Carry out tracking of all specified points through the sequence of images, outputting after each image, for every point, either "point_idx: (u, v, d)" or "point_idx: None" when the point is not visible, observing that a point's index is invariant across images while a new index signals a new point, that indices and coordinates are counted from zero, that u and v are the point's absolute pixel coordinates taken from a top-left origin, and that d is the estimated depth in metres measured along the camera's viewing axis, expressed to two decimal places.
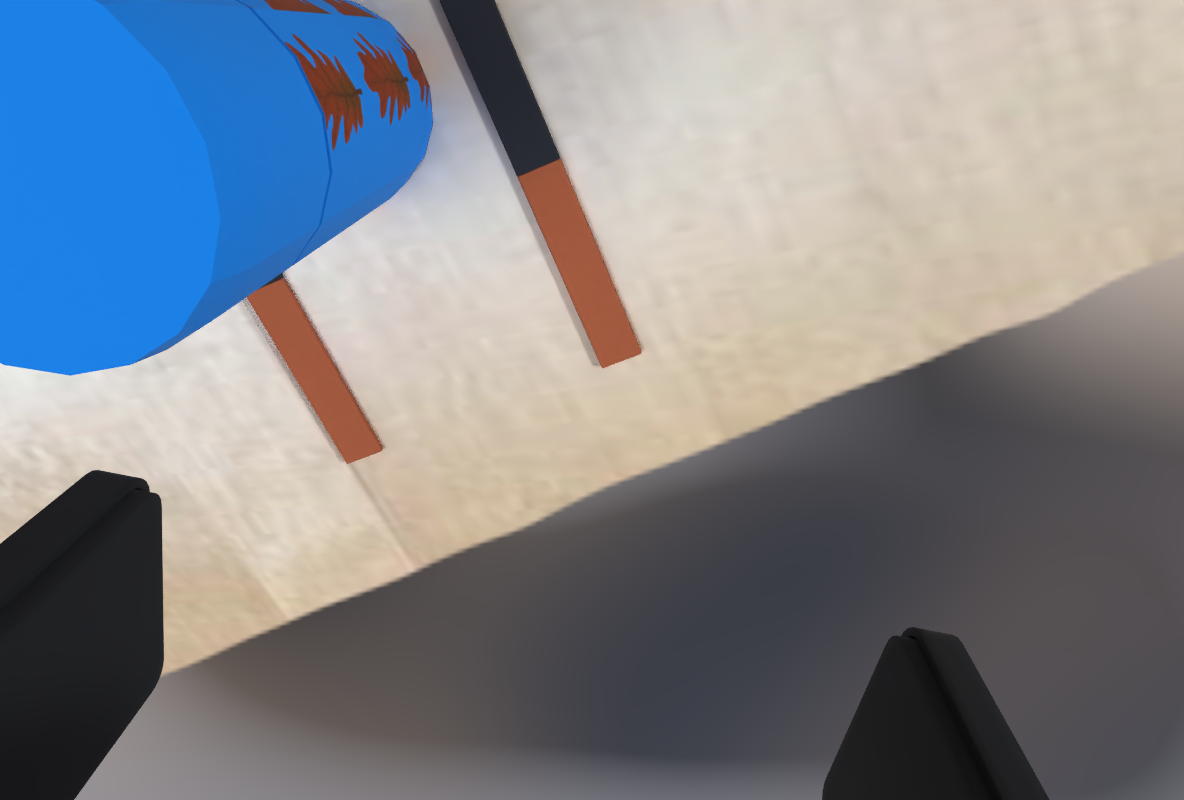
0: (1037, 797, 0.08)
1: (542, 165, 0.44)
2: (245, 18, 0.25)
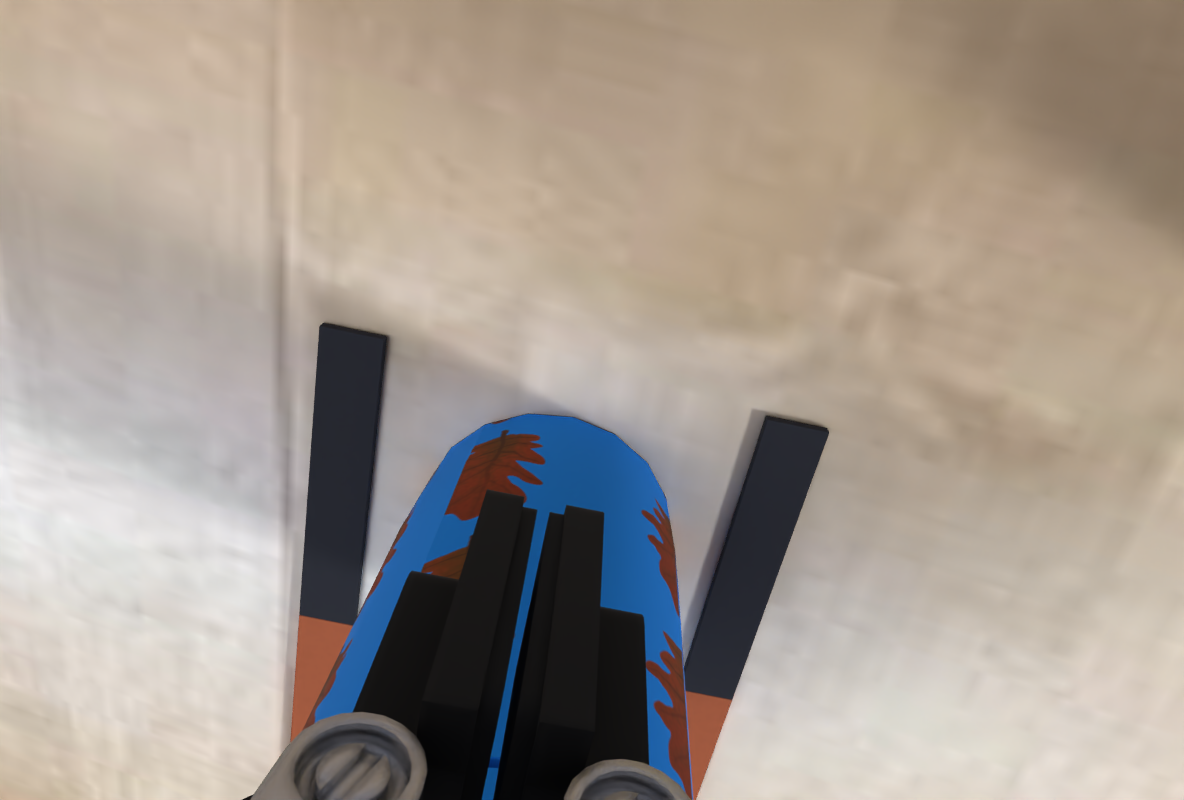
0: (589, 625, 0.09)
1: (711, 695, 0.37)
2: None
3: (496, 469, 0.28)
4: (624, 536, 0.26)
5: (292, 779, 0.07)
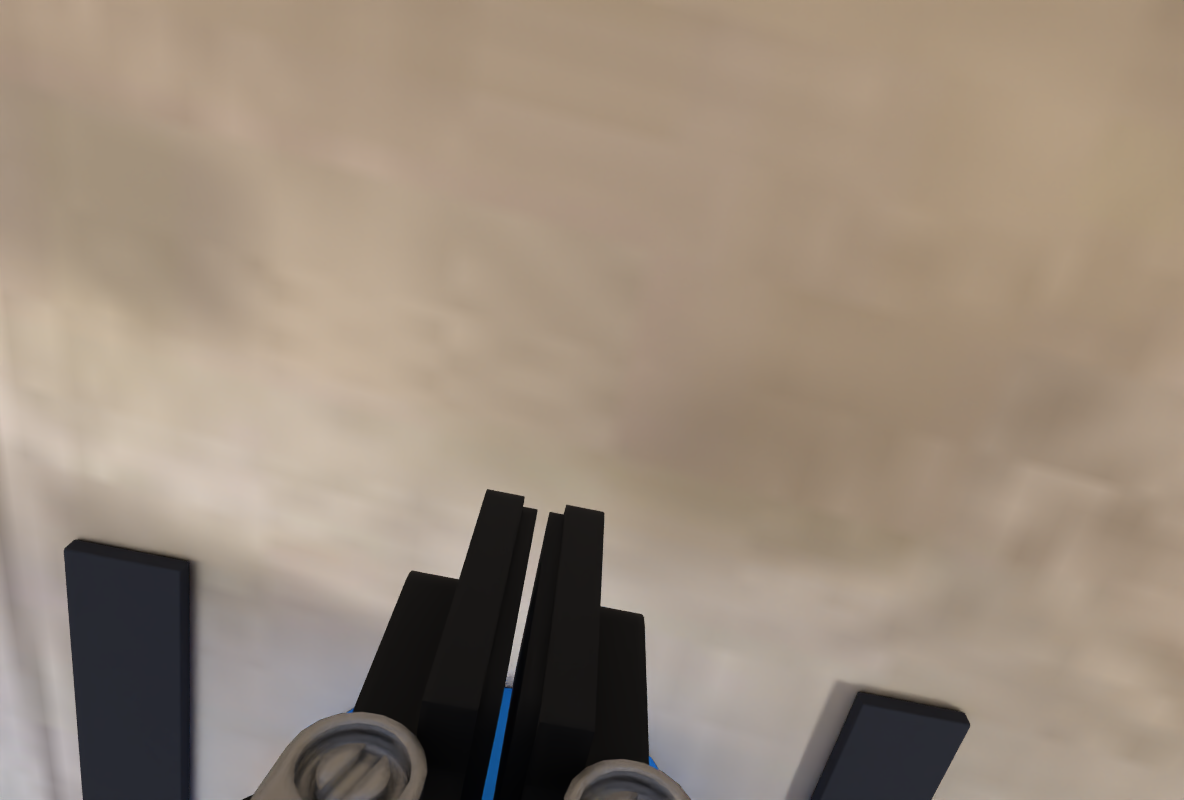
0: (589, 625, 0.09)
1: None
2: None
3: None
4: None
5: (292, 779, 0.07)
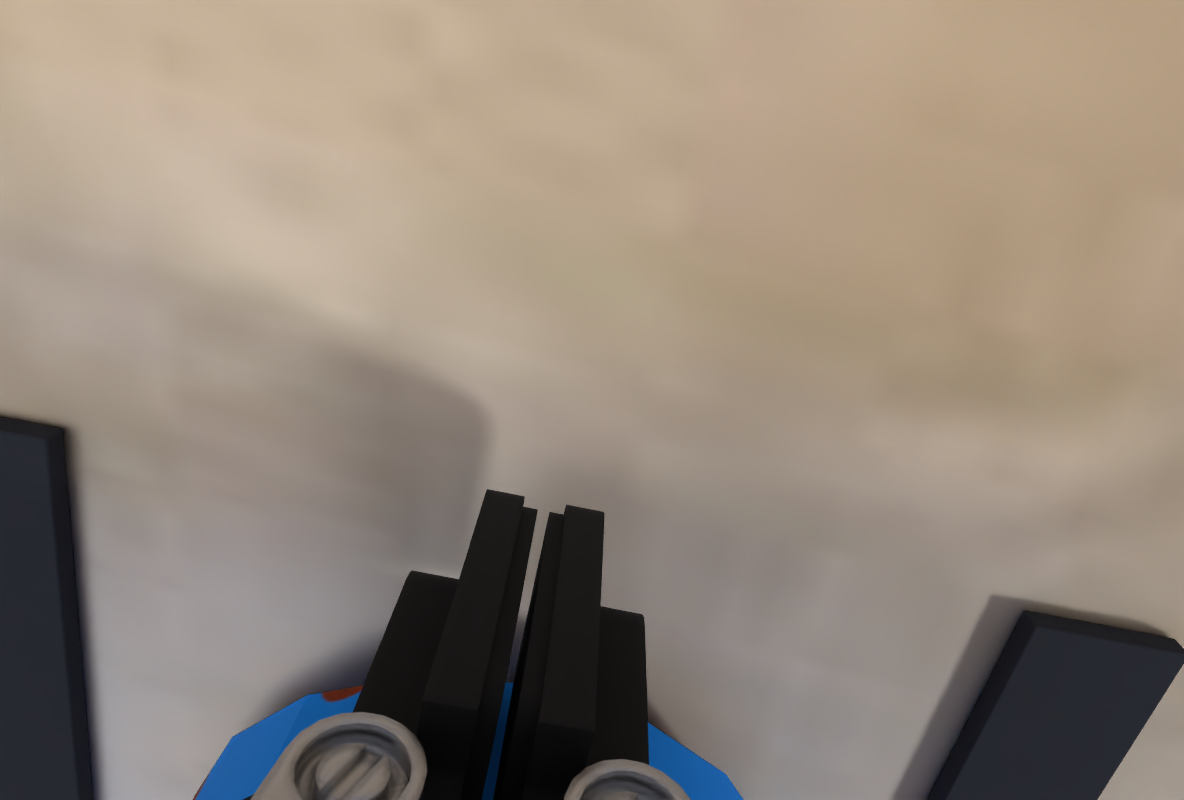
0: (588, 625, 0.09)
1: None
2: None
3: None
4: None
5: (292, 779, 0.07)
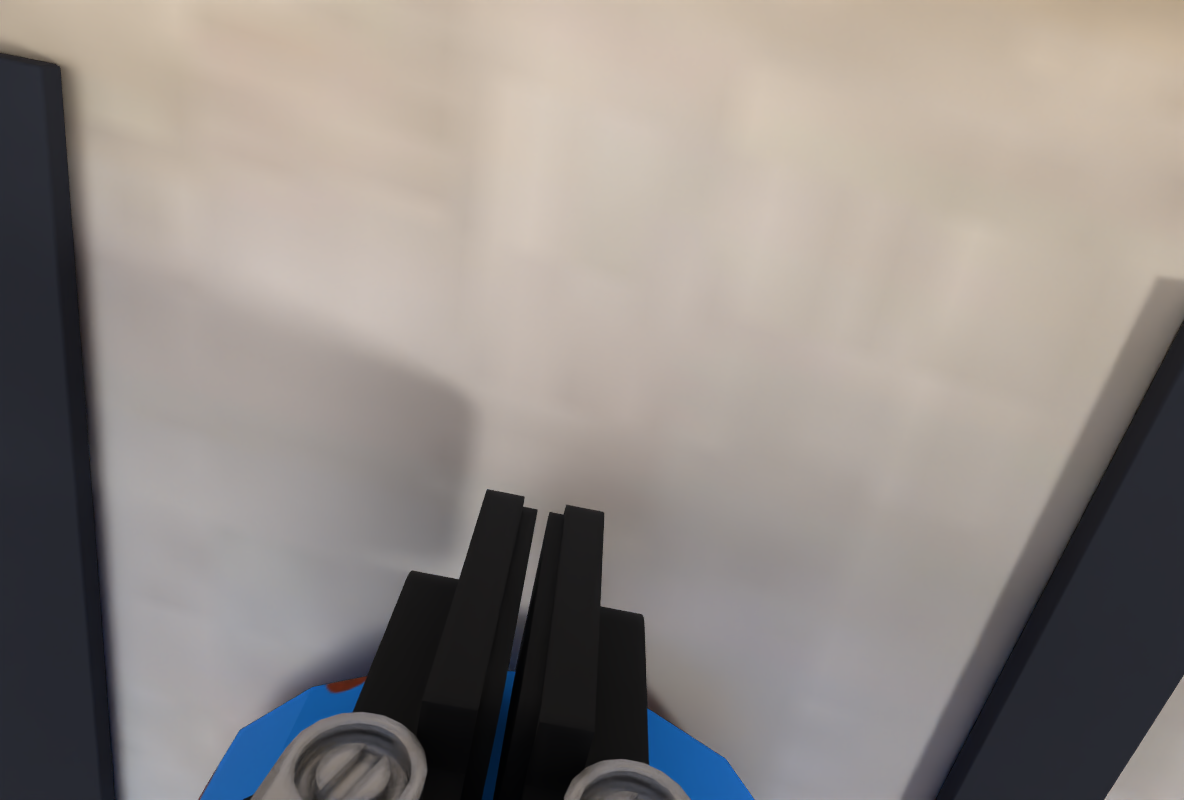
0: (589, 625, 0.09)
1: None
2: None
3: None
4: None
5: (292, 779, 0.07)
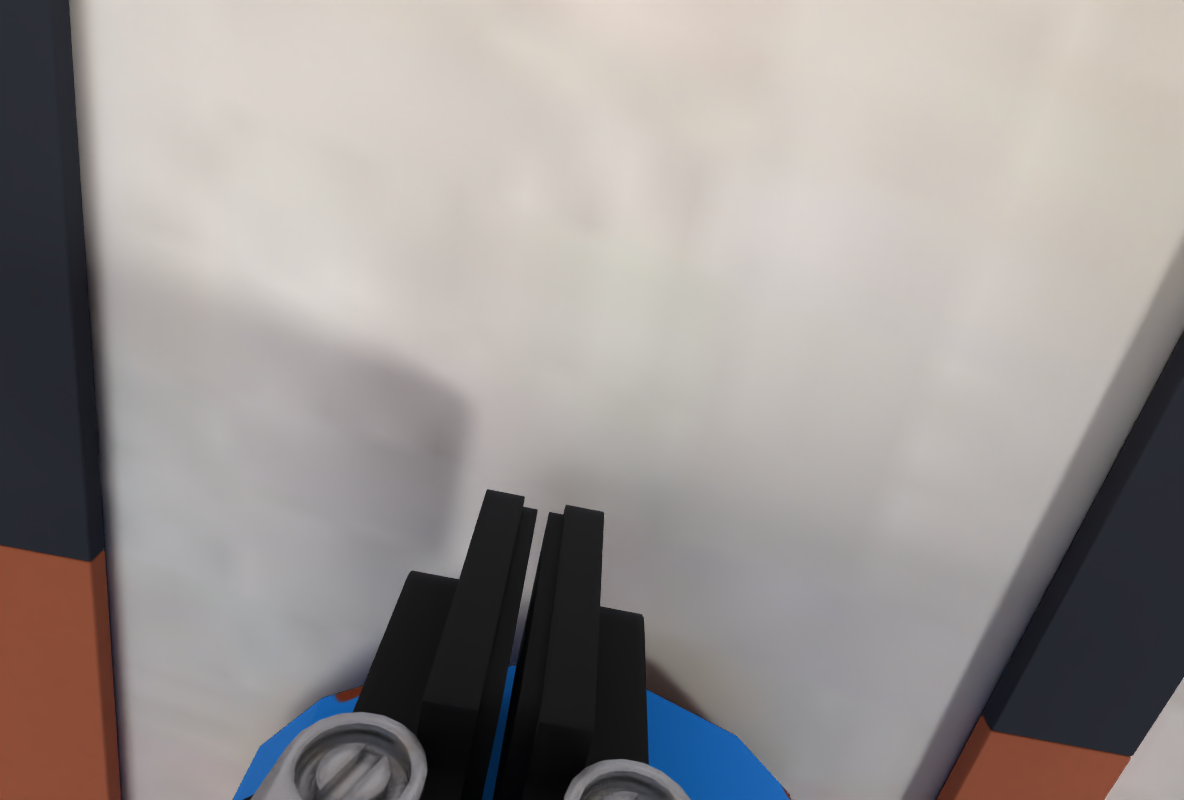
0: (588, 625, 0.09)
1: (1076, 745, 0.14)
2: None
3: None
4: None
5: (292, 779, 0.07)
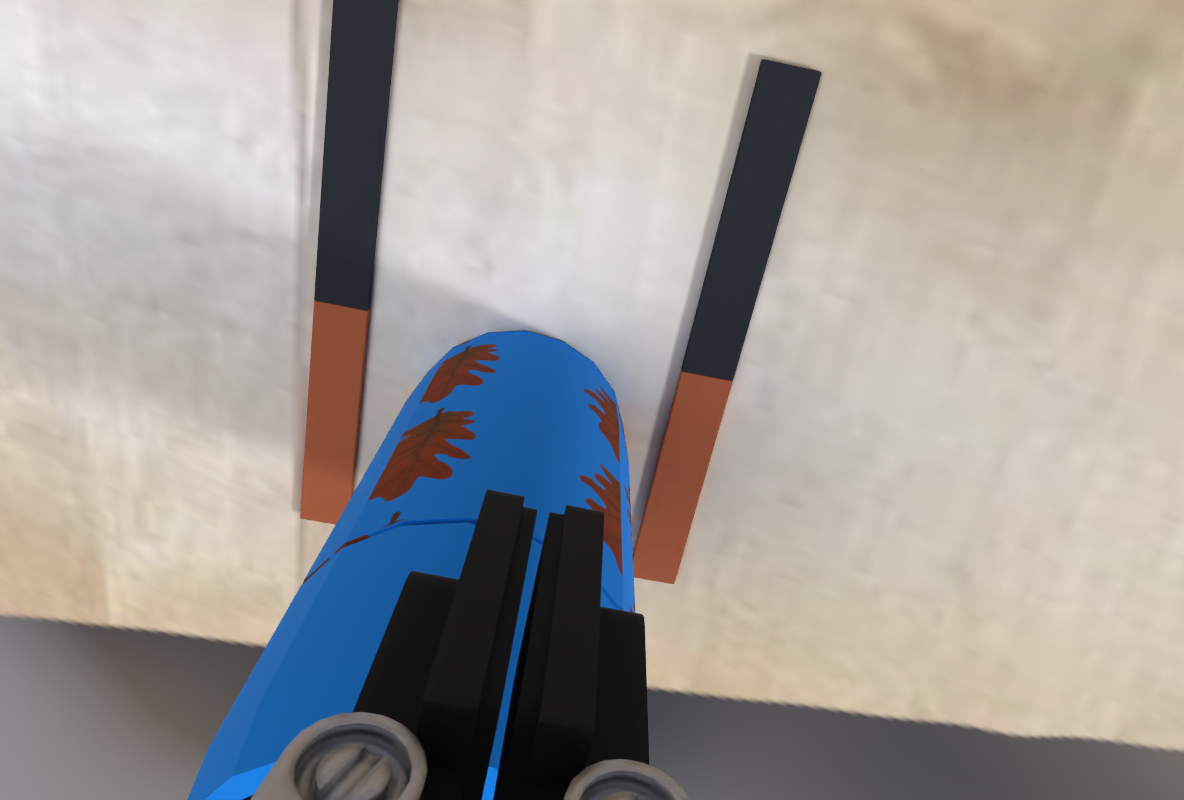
0: (588, 625, 0.09)
1: (712, 376, 0.39)
2: None
3: (460, 368, 0.34)
4: (565, 402, 0.32)
5: (291, 779, 0.07)
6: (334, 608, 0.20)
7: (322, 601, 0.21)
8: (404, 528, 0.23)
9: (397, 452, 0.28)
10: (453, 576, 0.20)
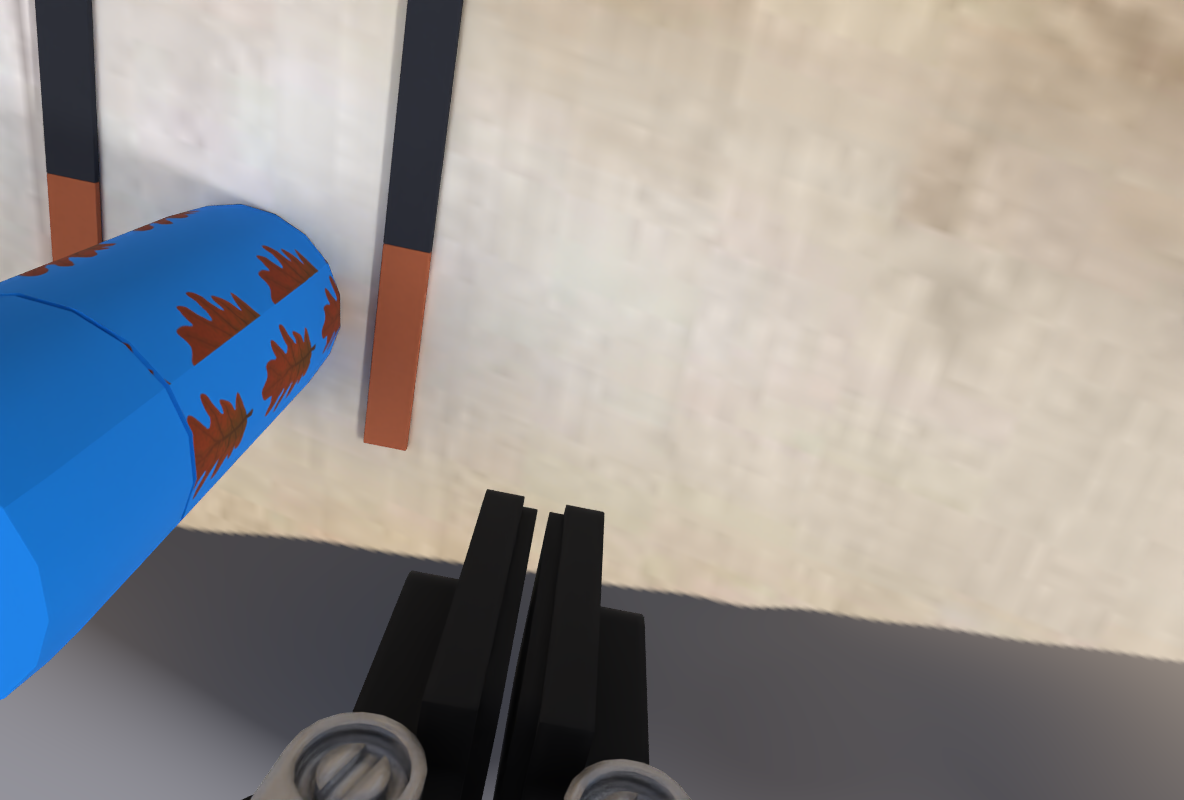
0: (589, 625, 0.09)
1: (411, 248, 0.43)
2: (155, 411, 0.27)
3: None
4: (224, 247, 0.37)
5: (292, 779, 0.07)
6: None
7: None
8: None
9: None
10: None
